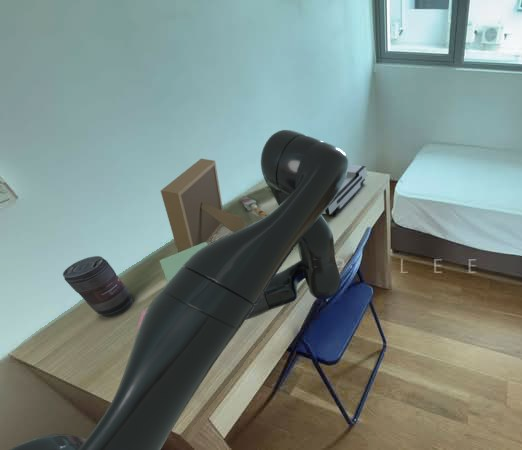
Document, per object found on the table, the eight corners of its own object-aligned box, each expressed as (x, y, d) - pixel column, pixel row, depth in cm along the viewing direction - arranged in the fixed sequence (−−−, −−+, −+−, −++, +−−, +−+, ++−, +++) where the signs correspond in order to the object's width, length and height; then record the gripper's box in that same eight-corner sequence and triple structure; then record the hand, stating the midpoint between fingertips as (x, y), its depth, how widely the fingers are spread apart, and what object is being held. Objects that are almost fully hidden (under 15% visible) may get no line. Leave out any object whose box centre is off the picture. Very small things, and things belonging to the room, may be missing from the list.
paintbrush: (238, 202, 126) (260, 220, 114) (236, 196, 125) (258, 214, 113) (247, 198, 128) (269, 216, 117) (245, 193, 127) (267, 210, 115)
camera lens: (138, 291, 87) (107, 251, 78) (134, 311, 81) (100, 270, 72) (103, 303, 84) (66, 262, 75) (96, 324, 78) (55, 282, 69)
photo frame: (181, 261, 97) (139, 191, 83) (213, 222, 115) (183, 159, 100) (228, 258, 97) (194, 189, 83) (253, 220, 115) (229, 157, 101)
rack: (232, 288, 86) (222, 268, 82) (185, 312, 80) (170, 291, 75) (215, 261, 96) (205, 241, 92) (172, 280, 90) (159, 260, 85)
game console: (283, 214, 117) (277, 195, 112) (326, 177, 142) (323, 161, 137) (331, 223, 111) (327, 204, 106) (367, 183, 136) (365, 166, 131)
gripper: (236, 267, 67) (143, 295, 61) (239, 314, 57) (127, 353, 51) (247, 291, 71) (161, 319, 66) (251, 339, 61) (150, 377, 55)
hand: (147, 334), depth 58 cm, fingers closed on pink box, 4 cm apart
